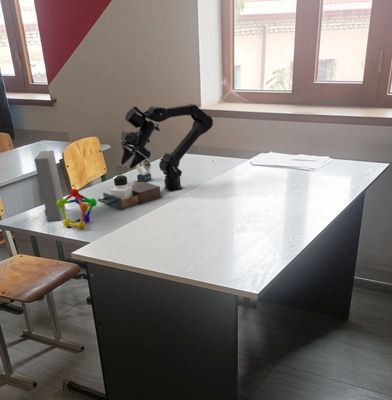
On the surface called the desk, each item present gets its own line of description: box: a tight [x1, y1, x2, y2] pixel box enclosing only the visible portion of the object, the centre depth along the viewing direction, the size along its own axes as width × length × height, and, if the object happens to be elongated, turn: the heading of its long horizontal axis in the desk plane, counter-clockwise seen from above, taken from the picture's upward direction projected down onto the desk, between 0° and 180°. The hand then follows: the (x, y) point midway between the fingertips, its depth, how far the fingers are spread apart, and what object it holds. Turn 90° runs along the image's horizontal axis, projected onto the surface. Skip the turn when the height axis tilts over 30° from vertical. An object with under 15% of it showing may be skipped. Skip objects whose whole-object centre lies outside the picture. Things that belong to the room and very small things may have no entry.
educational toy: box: [57, 188, 98, 231], centre depth 200 cm, size 16×13×15 cm
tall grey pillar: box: [34, 150, 67, 222], centre depth 208 cm, size 14×6×25 cm, turn 4°
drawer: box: [97, 192, 140, 210], centre depth 221 cm, size 16×13×5 cm
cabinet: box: [128, 182, 162, 205], centre depth 228 cm, size 11×13×5 cm
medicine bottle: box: [110, 174, 133, 200], centre depth 220 cm, size 7×7×12 cm
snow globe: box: [135, 158, 152, 183], centre depth 250 cm, size 6×8×11 cm
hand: (126, 166), depth 222 cm, fingers open, 9 cm apart
